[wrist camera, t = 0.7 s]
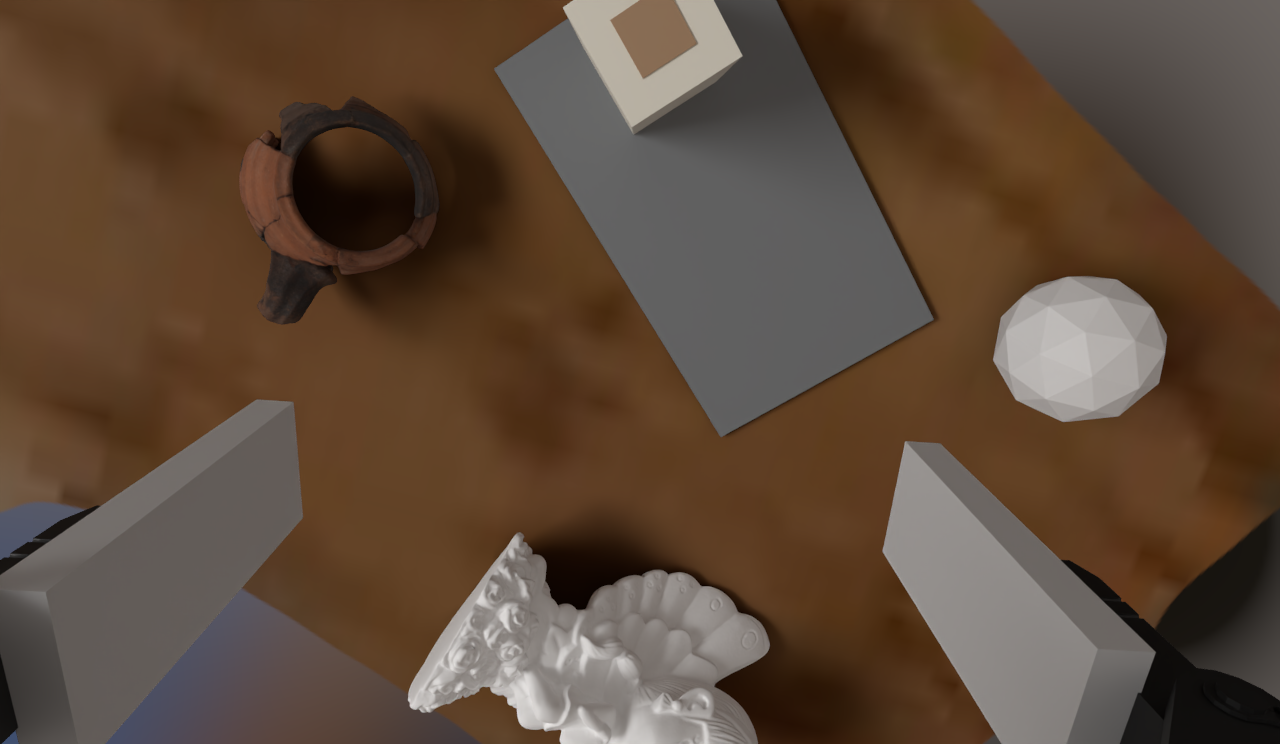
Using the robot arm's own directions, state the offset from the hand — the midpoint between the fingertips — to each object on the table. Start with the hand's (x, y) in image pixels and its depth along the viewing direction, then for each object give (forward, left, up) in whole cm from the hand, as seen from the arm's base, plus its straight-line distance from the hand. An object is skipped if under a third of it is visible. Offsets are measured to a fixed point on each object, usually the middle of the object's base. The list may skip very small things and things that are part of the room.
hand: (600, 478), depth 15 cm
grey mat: (-1, +7, -26) cm, 27 cm away
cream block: (-9, +7, -26) cm, 28 cm away
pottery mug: (-11, -11, -26) cm, 31 cm away
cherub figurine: (+19, -13, -26) cm, 35 cm away
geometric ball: (+15, +19, -26) cm, 36 cm away
